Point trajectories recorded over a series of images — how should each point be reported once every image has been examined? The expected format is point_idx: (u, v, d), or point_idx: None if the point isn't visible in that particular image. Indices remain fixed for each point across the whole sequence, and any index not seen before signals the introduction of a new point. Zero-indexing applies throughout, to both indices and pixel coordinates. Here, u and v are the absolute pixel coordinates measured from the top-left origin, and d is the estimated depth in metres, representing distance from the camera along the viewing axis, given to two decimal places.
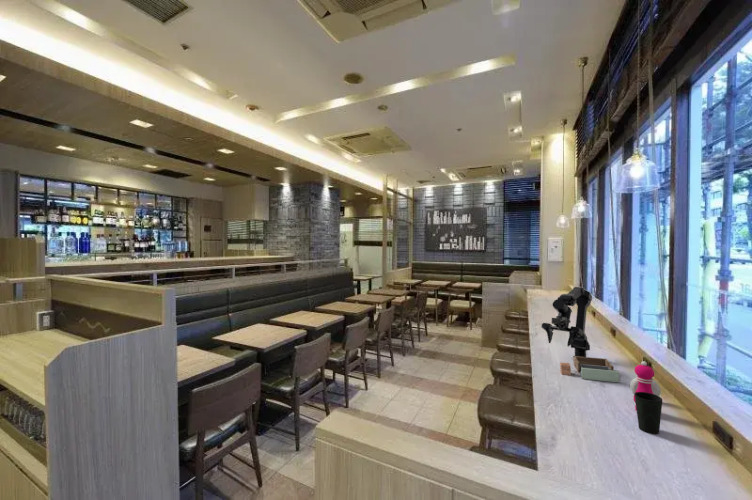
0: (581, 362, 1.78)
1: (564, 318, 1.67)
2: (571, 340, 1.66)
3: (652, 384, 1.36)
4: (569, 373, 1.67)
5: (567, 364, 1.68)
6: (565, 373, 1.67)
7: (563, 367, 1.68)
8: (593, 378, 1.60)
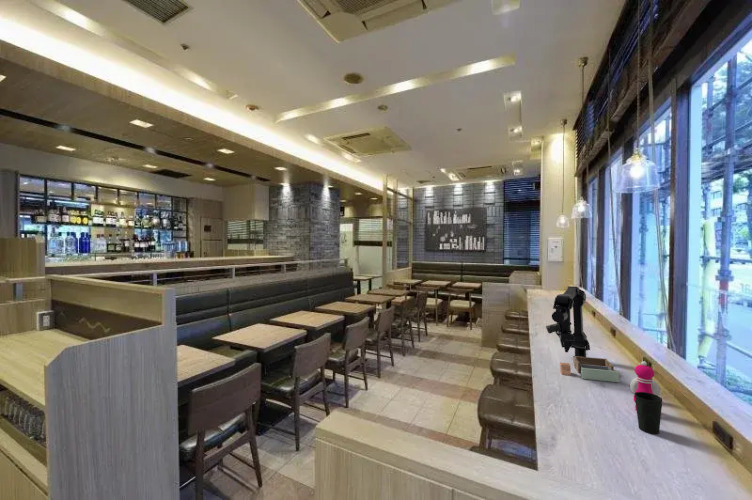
0: (581, 362, 1.78)
1: (549, 327, 1.68)
2: (566, 346, 1.64)
3: (652, 384, 1.36)
4: (569, 373, 1.67)
5: (567, 364, 1.68)
6: (565, 373, 1.67)
7: (563, 367, 1.68)
8: (593, 378, 1.60)
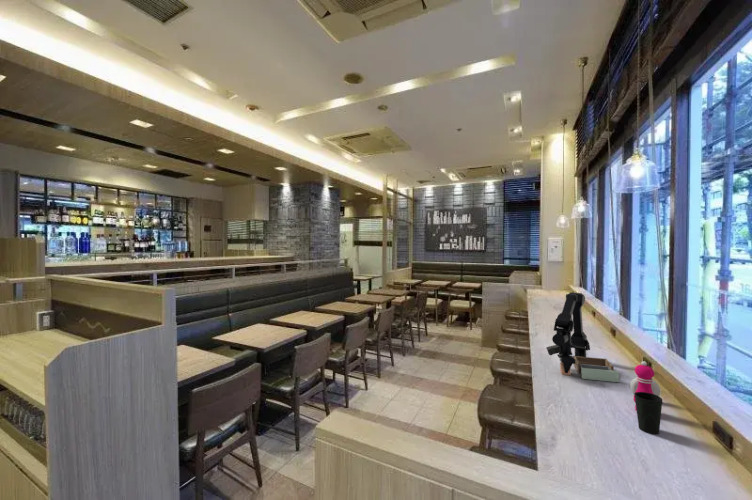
0: (581, 362, 1.78)
1: (550, 349, 1.68)
2: (566, 367, 1.66)
3: (652, 384, 1.36)
4: (569, 373, 1.67)
5: None
6: (565, 373, 1.67)
7: (563, 367, 1.68)
8: (593, 378, 1.60)
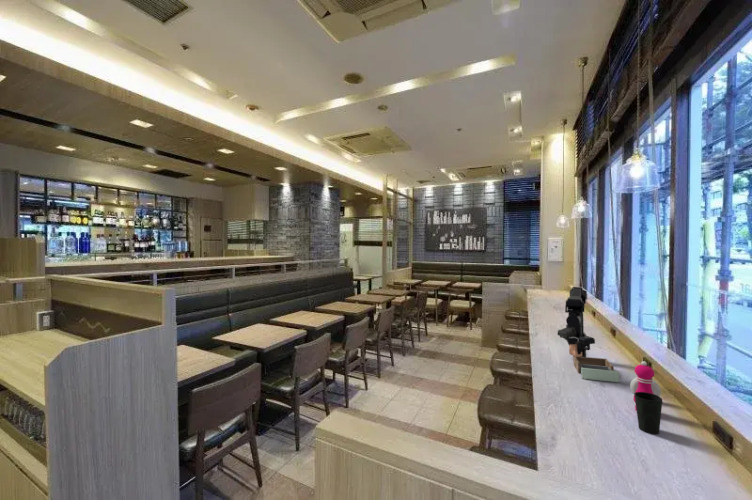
0: (581, 362, 1.78)
1: (568, 332, 1.63)
2: (580, 348, 1.65)
3: (652, 384, 1.36)
4: (581, 354, 1.67)
5: None
6: (578, 354, 1.66)
7: (576, 349, 1.66)
8: (593, 378, 1.60)
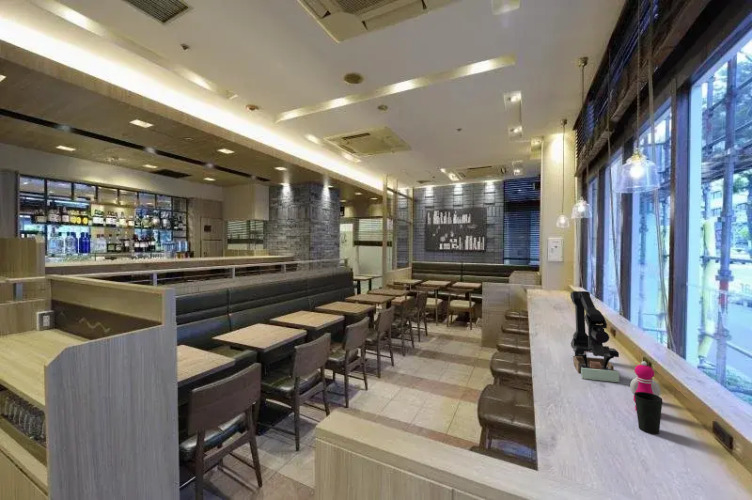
0: (581, 362, 1.78)
1: (607, 349, 1.58)
2: None
3: (652, 384, 1.36)
4: None
5: (596, 362, 1.67)
6: None
7: None
8: (593, 378, 1.60)
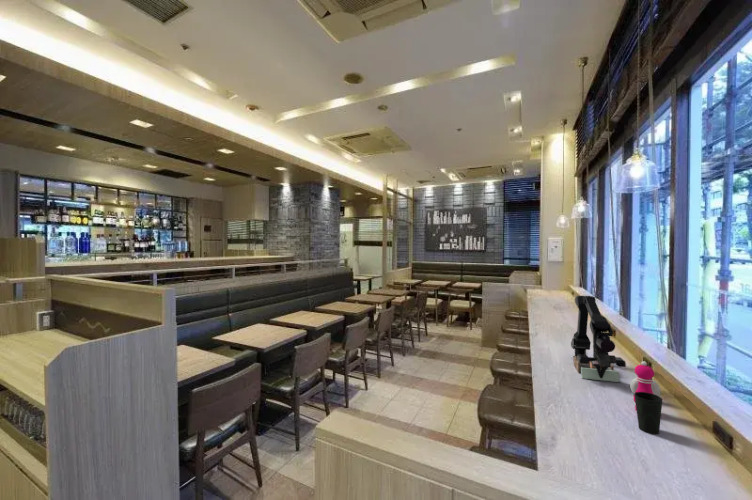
0: None
1: (614, 358, 1.49)
2: None
3: (652, 384, 1.36)
4: None
5: None
6: None
7: None
8: (593, 378, 1.60)
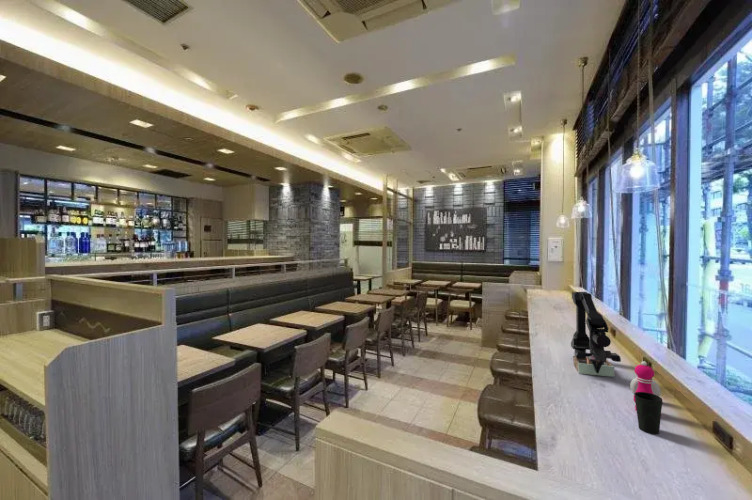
0: None
1: (609, 353, 1.56)
2: None
3: (652, 384, 1.36)
4: None
5: None
6: None
7: None
8: (590, 373, 1.66)
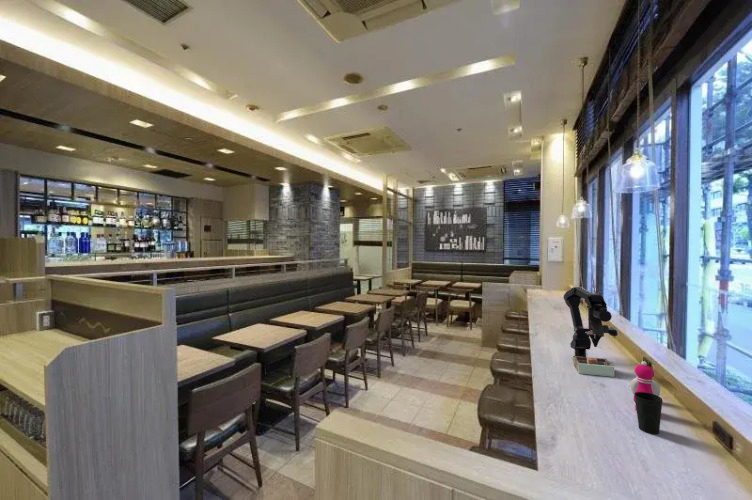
0: None
1: (607, 328, 1.65)
2: None
3: (652, 384, 1.36)
4: None
5: (592, 358, 1.74)
6: None
7: None
8: (590, 373, 1.66)
